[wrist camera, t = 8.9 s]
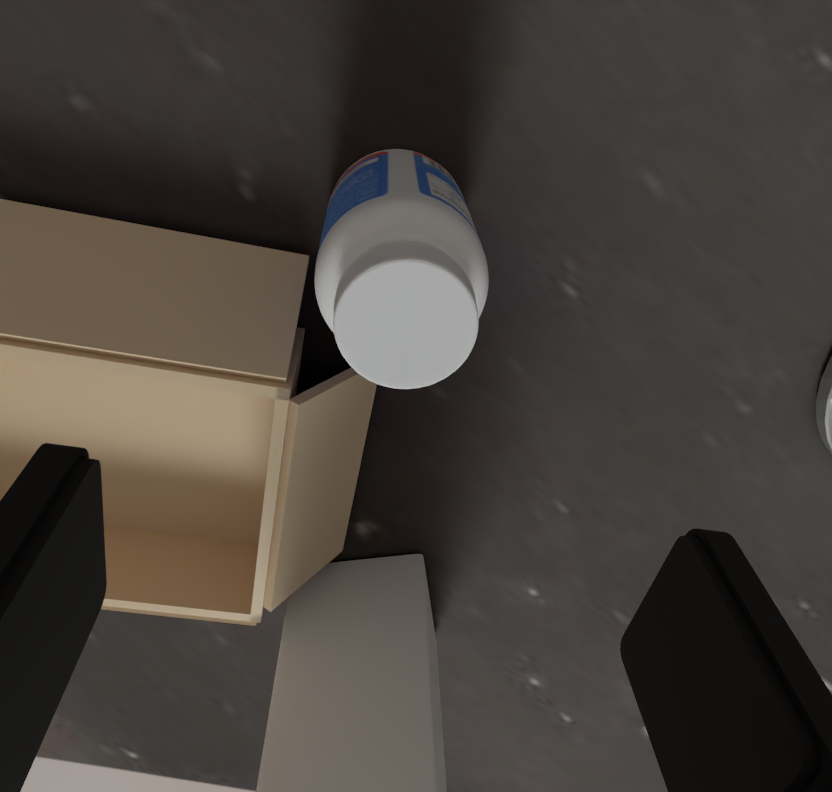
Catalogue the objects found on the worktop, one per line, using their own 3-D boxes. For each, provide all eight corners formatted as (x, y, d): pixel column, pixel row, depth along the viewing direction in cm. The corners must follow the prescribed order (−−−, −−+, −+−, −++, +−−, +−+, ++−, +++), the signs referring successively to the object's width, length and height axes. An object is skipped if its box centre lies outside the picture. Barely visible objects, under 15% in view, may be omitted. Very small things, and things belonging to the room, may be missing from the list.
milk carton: (292, 563, 36) (214, 1032, 20) (423, 550, 36) (449, 1013, 20) (317, 647, 40) (269, 1099, 24) (436, 635, 40) (466, 1083, 24)
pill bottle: (331, 281, 28) (306, 411, 19) (324, 145, 25) (292, 230, 17) (463, 282, 28) (494, 410, 20) (471, 146, 25) (511, 231, 17)
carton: (399, 267, 27) (401, 321, 23) (332, 597, 38) (325, 676, 33) (-146, 167, 25) (-257, 206, 20) (-59, 552, 35) (-120, 632, 31)
